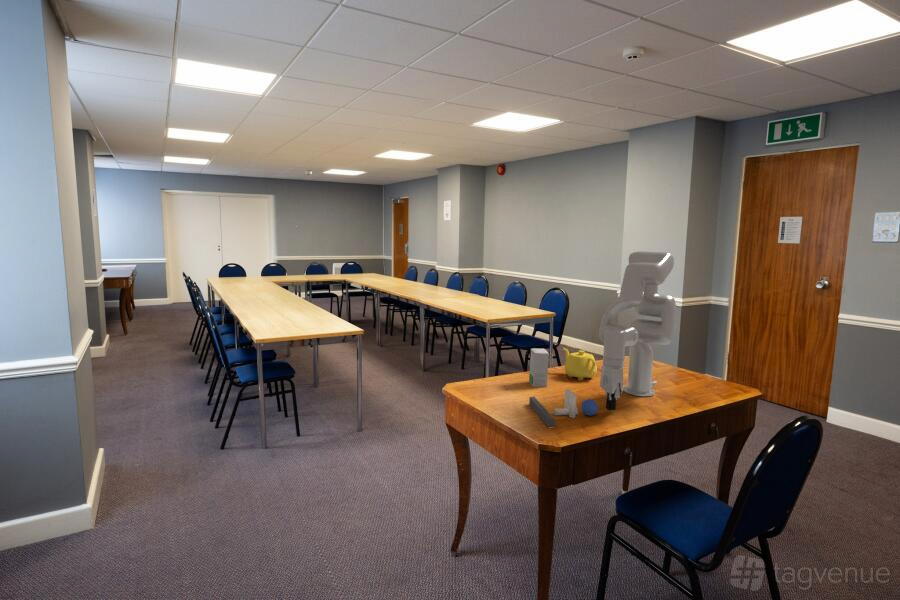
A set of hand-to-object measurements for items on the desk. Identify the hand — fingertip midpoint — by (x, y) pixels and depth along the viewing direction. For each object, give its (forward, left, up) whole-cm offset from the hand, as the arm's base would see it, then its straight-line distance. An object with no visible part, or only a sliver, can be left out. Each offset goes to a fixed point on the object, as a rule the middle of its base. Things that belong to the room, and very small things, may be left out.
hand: (610, 409), depth 185 cm
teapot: (-26, -41, -2) cm, 48 cm away
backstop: (+24, -11, -2) cm, 27 cm away
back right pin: (+13, -9, -2) cm, 16 cm away
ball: (+9, -2, +2) cm, 9 cm away
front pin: (+12, -6, 0) cm, 13 cm away
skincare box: (-1, -41, -2) cm, 41 cm away
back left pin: (+16, -4, -2) cm, 16 cm away
